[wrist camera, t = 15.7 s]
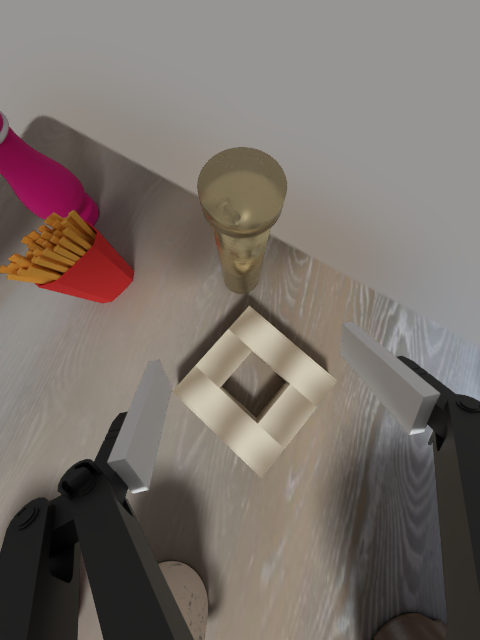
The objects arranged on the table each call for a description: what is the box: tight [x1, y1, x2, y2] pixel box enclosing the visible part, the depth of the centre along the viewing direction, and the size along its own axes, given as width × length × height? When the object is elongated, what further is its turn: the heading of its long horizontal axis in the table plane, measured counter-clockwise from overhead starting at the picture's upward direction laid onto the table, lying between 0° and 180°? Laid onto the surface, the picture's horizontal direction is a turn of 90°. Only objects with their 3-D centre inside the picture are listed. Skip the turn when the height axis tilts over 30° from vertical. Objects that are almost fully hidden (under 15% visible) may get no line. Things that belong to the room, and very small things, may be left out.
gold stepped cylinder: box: [197, 147, 287, 294], centre depth 22 cm, size 6×6×16 cm
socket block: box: [172, 306, 337, 478], centre depth 27 cm, size 14×14×2 cm
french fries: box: [0, 210, 134, 303], centre depth 24 cm, size 8×4×12 cm, turn 139°
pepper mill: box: [0, 112, 99, 226], centre depth 22 cm, size 7×7×20 cm
